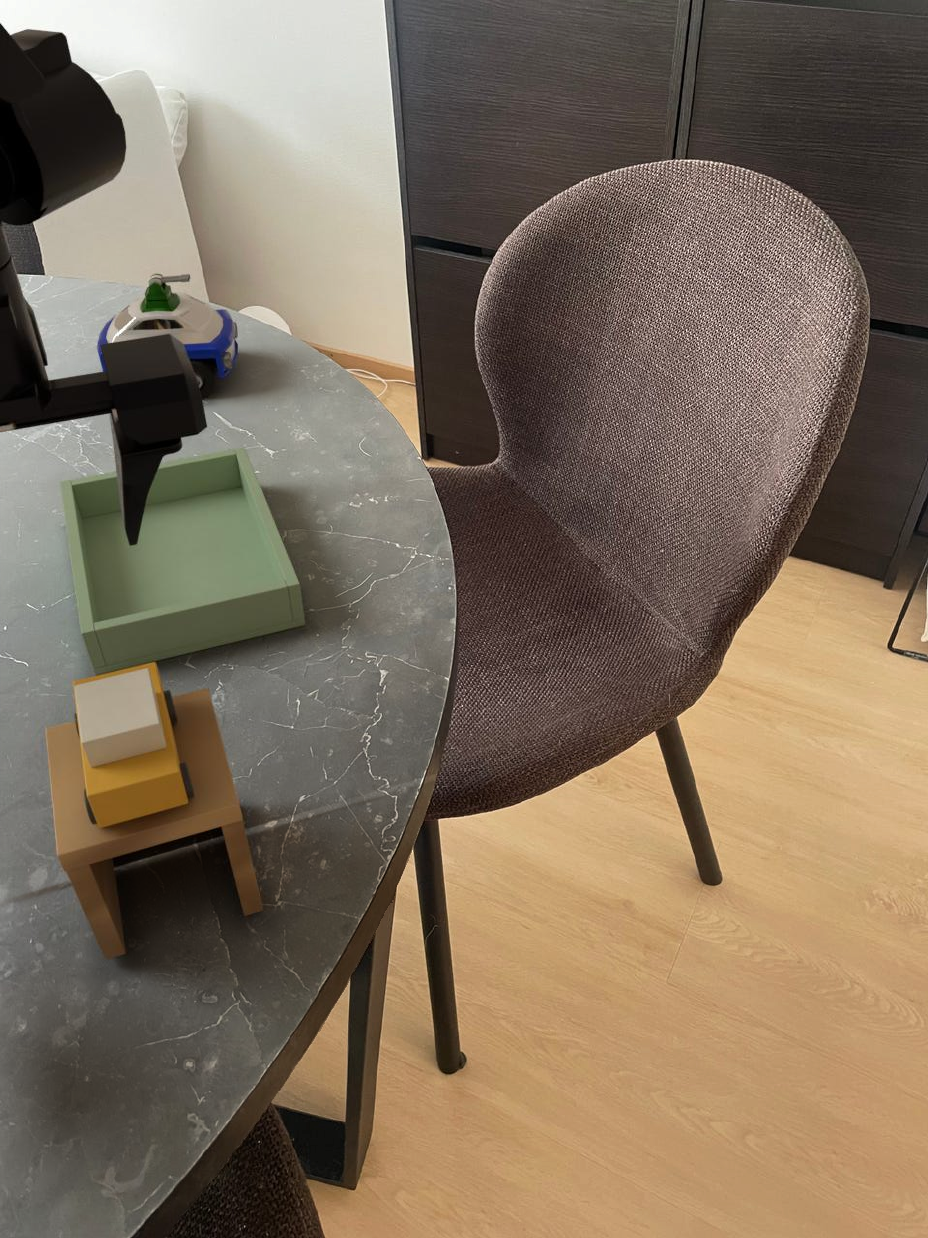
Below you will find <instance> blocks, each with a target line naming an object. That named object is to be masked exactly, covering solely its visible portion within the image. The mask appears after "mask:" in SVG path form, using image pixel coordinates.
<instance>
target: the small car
mask: <svg viewBox="0 0 928 1238" xmlns="http://www.w3.org/2000/svg"><path fill="white" fill-rule="evenodd" d="M72 689H73V696H74V703H75V713H74V721H75V724H76V729H77V733H78V736H79V740H80V745H81V753H82V761H83V769H84V777H85V785H86V789H84V799H85V805H86V809H87V813H88V816H89V819H90V821H91V823H92V824H93V825H95V824H98V826H99V828H102V827H106V826H109V825H113V824H117V823H120V822H124V821H127V820H131V819H135V818H138V817H142V816H145V815H149V814H152V813H156V812H160V811H163V810H167V809H170V808H174V807H178V806H181V805H185V804H187V803H188V798H192V797H194V791H193V786H192V782H191V778H190V774H189V770H188V767H187V763H186V762H183V763H180V762H179V757H178V753H177V748H176V744H175V739H174V734H173V730H172V725H171V724H172V723H176V722H177V721H178V720H177V715H176V711H175V707H174V703H173V699H172V697H173V696H172V692H171V690H170V689H166V690H164V686H163V682H162V679H161V675H160V671H159V668H158V665H157V661H153V662H149V663H145V664H141V665H137V666H133V667H128V668H124V669H120V670H116V671H112V672H108V673H103V674H99V675H94V676H90V677H85V678H82V679H77V680H74V681H72Z"/></svg>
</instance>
